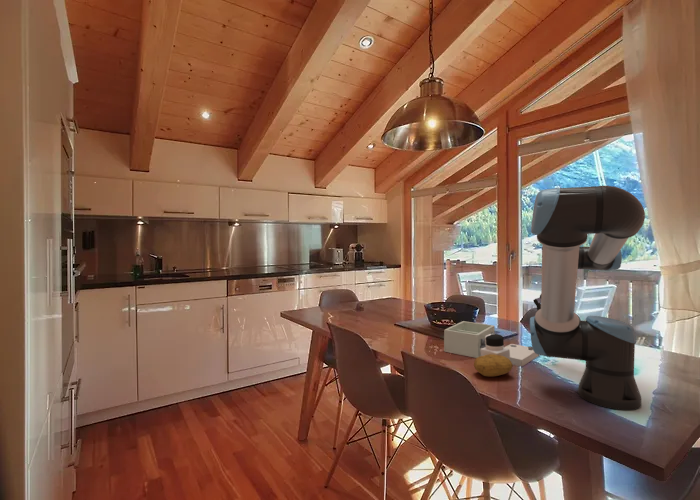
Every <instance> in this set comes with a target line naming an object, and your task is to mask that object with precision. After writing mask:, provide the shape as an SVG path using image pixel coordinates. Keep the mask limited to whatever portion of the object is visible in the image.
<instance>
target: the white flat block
mask: <svg viewBox="0 0 700 500" xmlns="http://www.w3.org/2000/svg"><path fill="white" fill-rule="evenodd" d="M504 348H508V349H509V350H510V361H511V363H512V365H513V366H518V367H521V368H522V367H524V366H525V365H527V364H528V363H530V362H532V361H533V360H535V359H536V358H538V357H539V356H540V355H538V354H536V353H535V352H534V351H533V348H532V346H526V345H525V346H524V345H520V344H514V343H510V344H508V345H505V346H504Z"/></svg>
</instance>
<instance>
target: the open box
mask: <svg viewBox="0 0 700 500" xmlns="http://www.w3.org/2000/svg"><path fill="white" fill-rule="evenodd" d="M443 331H444V332H443V333H444V334H443V352H445V353H451V354H455V355H460V356H466V357H470V358H474V359H476V358H478V357H480V356H481V350H480V349H482V348H485V347H486V341H485V336H486V335H489V334H496V333H495V325H492V324H488V323H487V324H486V323H479V322H471V321H465V320H463V321H460V322H458V323H456V324H454V325H452V326H450V327H447V328H445V329H444V330H443Z"/></svg>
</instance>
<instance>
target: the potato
mask: <svg viewBox="0 0 700 500" xmlns="http://www.w3.org/2000/svg"><path fill="white" fill-rule="evenodd" d="M513 366H514V365H513V364H512V363H511V361H510V360H509V359H508V358H507V357H505V356H501V355H493V354H488V355H484V356H480V357H478V358H474V361H473V368H474V369H475V370H476V371H477V372H478V373H479V374H481V375H482V376H484V377H498V376H501V375H502V376H503V375H505V374H508V373H509V372H510V371H511V370H512V369H513Z"/></svg>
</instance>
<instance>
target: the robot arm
mask: <svg viewBox="0 0 700 500" xmlns="http://www.w3.org/2000/svg"><path fill="white" fill-rule="evenodd" d="M532 210H533V211H532V219H531V223H530V224H531V227H530V228H531V230H530V232H531V234H533V235H535V236H536V239H537V241H538V242H539V243H540V244H542V245H541V291H540V292H541V293H540V295H539V297H537V298H534V299H533V303H534V305H535V307H536V310H537V311H536V312H535V315H533V316H531V317H530V318H529V331H530V340H531V341H530V342H531V347H532V348H533V351H534V352H535V353H536V354H538V355H539V356H543V357H548V358H558V359H560V358H561V359H569V360H577V361H584V362H585V369H584V372H583V373H582V376H581V379H580V381H579V383H578V387H577V390H578V391H577V393H578V395H579V397H580V398H581V399H583V400H585V401H587V402H589V403H591V404H594V405H597V406H600V407H604V408H606V409H607V408H608V409H613V410H619V411H620V410H623V411H631V410H636V409H637V410H638V409H640V408H641V407H642V396H641V393H640V390H639V387H638V384H637V382H636V379H635V378H636V377H635V353H636V352H635V349H636V348H635V347H636V346H635V345H636V342H637V341H636V336H635V329H634V327H633V326H632V325H631V324H630V323H627V322H625V321H622V320H618V319H616V318H611V317H605V316H600V315H599V316H598V315H587V316H586V318H585V320H581V319H580V318H579V316H578V315H577V313H576V312H575V307H576V306H575V305H576V304H575V303H576V295H577V294H576V292H577V282H578V281H577V280H578V271H579V270H593V271H594V270H595V271H596V270H598V271H616V270H619V269H620V268H621V266H622V261H623V260H622V259H623V257H622V250H621V249H622V248H623V247H624V246H625V244H626V242H627V241H628V239H629V238H632V237H633V236H635V235H636V234H638V232H639V231H640V230H641V229H642V227H643V225H644V224H645V218H646V213H645V209H644V206H643V204H642V203H641V201H640V200H639V199H638V198H637V197H636V196H635V195H634V194H632V193H631V192H630V191H628V190H625V189H623V188H620V187H617V186H612V185H598V186H595V185H594V186H578V187H577V186H576V187H575V186H574V187H572V186H571V187H554V188H547V189H541V190H540V191H538V192H537V194H536V196H535V200H534V204H533V209H532ZM591 234H593V239H592V240H591V243H590V245H589V246H583V245H584V244H585V243H586V242H587V240H588V235H591Z"/></svg>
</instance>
